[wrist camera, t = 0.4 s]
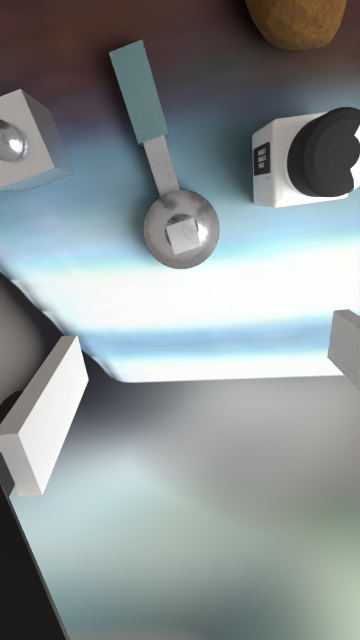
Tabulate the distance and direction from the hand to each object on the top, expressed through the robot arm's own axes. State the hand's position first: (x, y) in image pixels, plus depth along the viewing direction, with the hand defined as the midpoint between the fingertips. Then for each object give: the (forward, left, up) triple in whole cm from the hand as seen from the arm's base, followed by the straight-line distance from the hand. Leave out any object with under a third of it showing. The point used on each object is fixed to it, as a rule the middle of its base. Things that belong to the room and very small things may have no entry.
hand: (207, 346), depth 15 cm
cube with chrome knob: (-16, -12, -26) cm, 33 cm away
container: (-6, +15, -26) cm, 31 cm away
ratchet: (-10, +1, -26) cm, 28 cm away
